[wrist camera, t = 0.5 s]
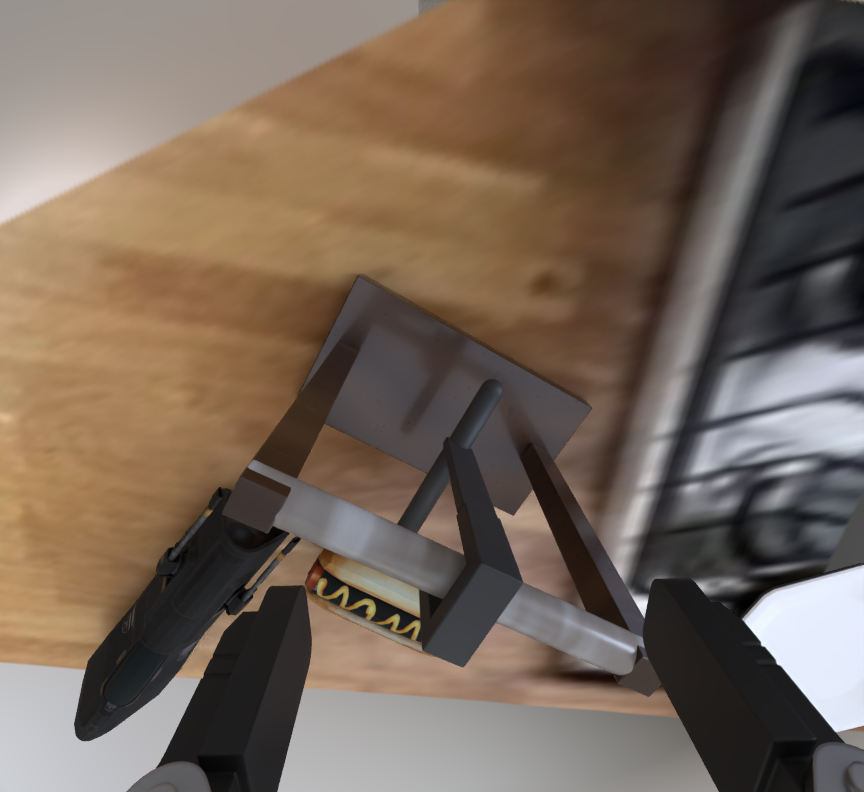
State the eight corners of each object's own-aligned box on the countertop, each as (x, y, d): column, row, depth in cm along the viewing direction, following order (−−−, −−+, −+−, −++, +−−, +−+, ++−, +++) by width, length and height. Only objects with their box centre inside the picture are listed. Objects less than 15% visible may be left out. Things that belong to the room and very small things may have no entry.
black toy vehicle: (315, 505, 36) (289, 576, 29) (154, 693, 42) (96, 795, 34) (240, 456, 35) (191, 518, 27) (83, 658, 40) (5, 757, 33)
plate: (818, 745, 47) (830, 761, 45) (660, 687, 43) (668, 702, 42) (971, 606, 41) (991, 620, 39) (802, 527, 37) (817, 539, 36)
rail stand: (360, 273, 30) (273, 338, 12) (585, 400, 33) (774, 596, 15) (297, 399, 33) (151, 603, 15) (509, 504, 36) (596, 772, 18)
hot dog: (336, 513, 36) (323, 556, 31) (476, 584, 38) (484, 633, 34) (306, 557, 37) (290, 605, 32) (444, 623, 40) (447, 676, 35)
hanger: (482, 370, 24) (549, 462, 13) (508, 384, 24) (594, 485, 13) (381, 538, 26) (366, 732, 15) (406, 549, 27) (408, 747, 16)
